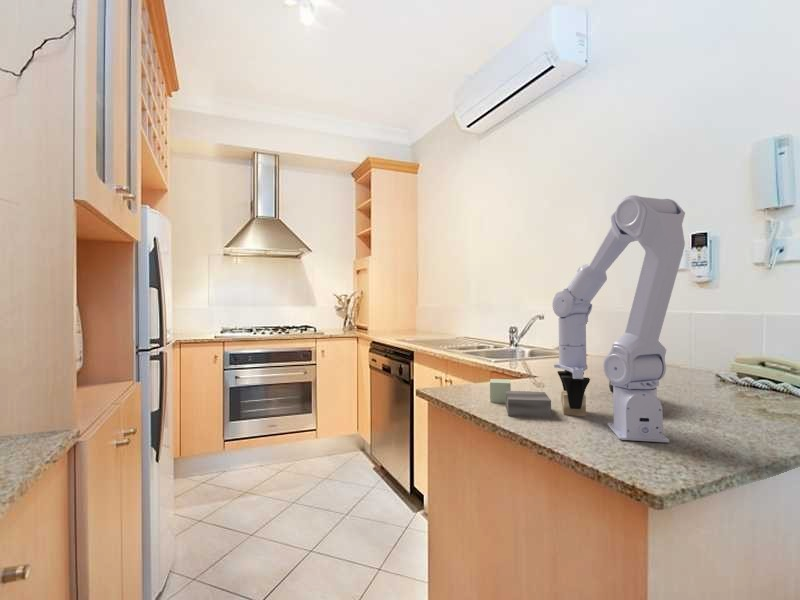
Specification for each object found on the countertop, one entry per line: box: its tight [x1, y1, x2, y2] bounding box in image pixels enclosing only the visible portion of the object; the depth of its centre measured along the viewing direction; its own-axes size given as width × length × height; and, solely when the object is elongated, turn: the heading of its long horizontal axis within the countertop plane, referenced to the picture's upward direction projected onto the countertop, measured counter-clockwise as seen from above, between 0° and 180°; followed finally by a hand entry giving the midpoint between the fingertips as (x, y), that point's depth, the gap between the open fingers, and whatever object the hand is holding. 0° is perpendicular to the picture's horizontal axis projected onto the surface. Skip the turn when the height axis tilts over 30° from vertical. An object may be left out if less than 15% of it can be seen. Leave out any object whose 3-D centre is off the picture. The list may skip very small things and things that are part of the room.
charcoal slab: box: [505, 390, 552, 419], centre depth 95 cm, size 9×9×4 cm
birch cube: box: [560, 390, 587, 417], centre depth 94 cm, size 4×4×4 cm
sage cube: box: [489, 378, 512, 404], centre depth 107 cm, size 5×5×5 cm
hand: (573, 405), depth 94 cm, fingers open, 5 cm apart
